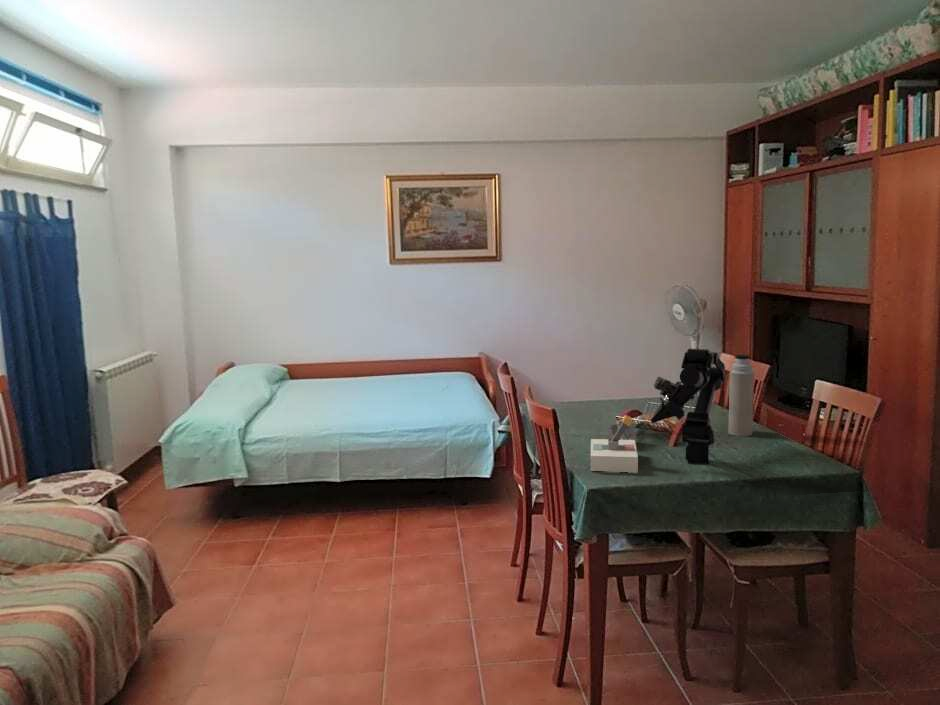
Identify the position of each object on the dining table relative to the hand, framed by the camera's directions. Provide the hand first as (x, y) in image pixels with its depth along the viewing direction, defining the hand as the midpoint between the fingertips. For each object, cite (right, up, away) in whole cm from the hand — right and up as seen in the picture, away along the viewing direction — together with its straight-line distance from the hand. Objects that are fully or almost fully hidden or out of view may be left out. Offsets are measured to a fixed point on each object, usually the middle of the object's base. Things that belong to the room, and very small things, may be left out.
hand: (651, 421), depth 221 cm
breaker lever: (-11, -7, +3) cm, 14 cm away
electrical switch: (-4, -10, +23) cm, 25 cm away
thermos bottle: (+40, -7, +32) cm, 52 cm away
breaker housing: (-11, -13, +4) cm, 18 cm away
